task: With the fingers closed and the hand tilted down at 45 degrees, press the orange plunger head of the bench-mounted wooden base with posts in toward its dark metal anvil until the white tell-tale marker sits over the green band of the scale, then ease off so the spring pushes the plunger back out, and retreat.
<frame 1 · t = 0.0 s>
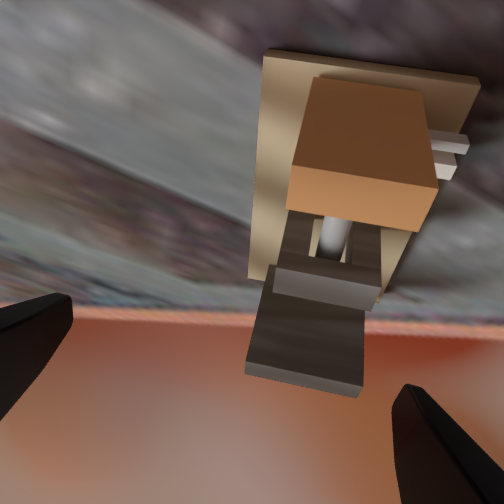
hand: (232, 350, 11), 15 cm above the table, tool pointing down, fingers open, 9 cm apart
tell-tale marker: (432, 162, 20), point 2 cm above the table, slide at 0.0 cm
plunger: (368, 212, 19), point 5 cm above the table, slide at 0.0 cm
wooden base with posts: (356, 111, 21), on the table
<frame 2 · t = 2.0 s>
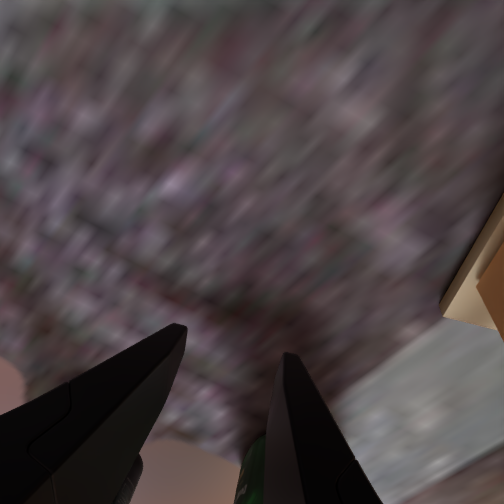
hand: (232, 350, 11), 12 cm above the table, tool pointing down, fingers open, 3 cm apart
supplement bottle: (110, 450, 37), on the table
coffee jar: (288, 462, 34), on the table
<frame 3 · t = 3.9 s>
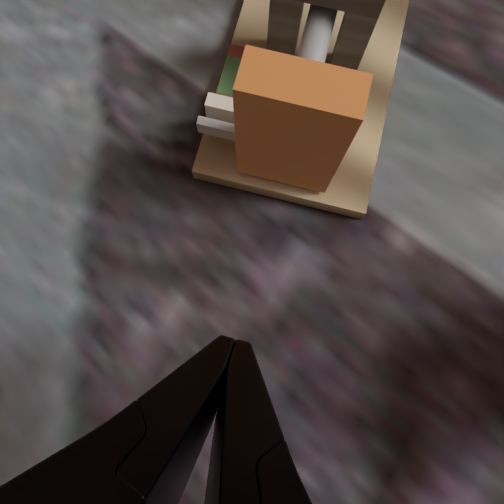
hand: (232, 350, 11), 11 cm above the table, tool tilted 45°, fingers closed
tell-tale marker: (223, 109, 22), point 2 cm above the table, slide at 0.0 cm
plunger: (282, 62, 20), point 5 cm above the table, slide at 0.0 cm
wooden base with posts: (286, 159, 24), on the table
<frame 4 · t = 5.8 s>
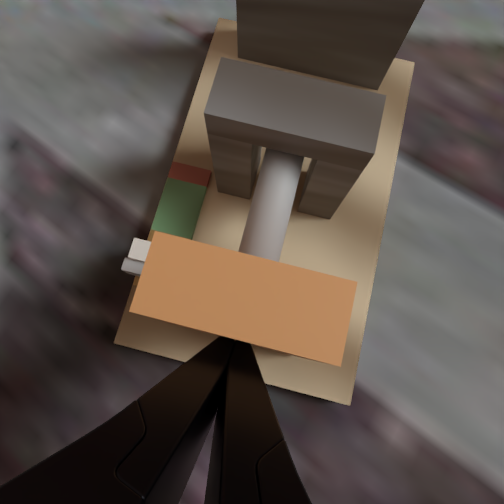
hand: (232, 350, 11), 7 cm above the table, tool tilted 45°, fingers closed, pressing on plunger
tell-tale marker: (157, 256, 16), point 2 cm above the table, slide at 0.4 cm, touching plunger
plunger: (233, 201, 14), point 5 cm above the table, slide at 0.9 cm, touching gripper, tell-tale marker
wooden base with posts: (245, 315, 18), on the table
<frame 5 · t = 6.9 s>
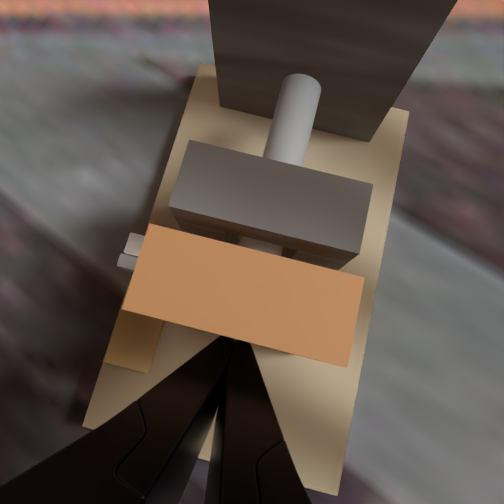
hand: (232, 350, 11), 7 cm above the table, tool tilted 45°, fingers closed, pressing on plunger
tell-tale marker: (154, 252, 16), point 2 cm above the table, slide at 3.6 cm
plunger: (233, 194, 13), point 5 cm above the table, slide at 4.1 cm, touching gripper
wooden base with posts: (226, 390, 17), on the table
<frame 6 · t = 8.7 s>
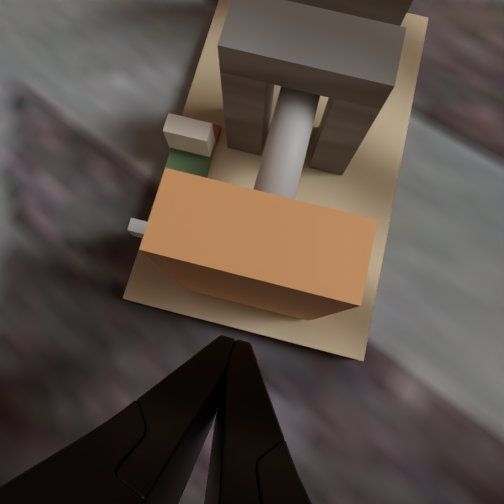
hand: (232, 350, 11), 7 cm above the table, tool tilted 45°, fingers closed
tell-tale marker: (189, 135, 17), point 2 cm above the table, slide at 3.6 cm
plunger: (243, 154, 13), point 5 cm above the table, slide at 0.5 cm
wooden base with posts: (256, 273, 18), on the table
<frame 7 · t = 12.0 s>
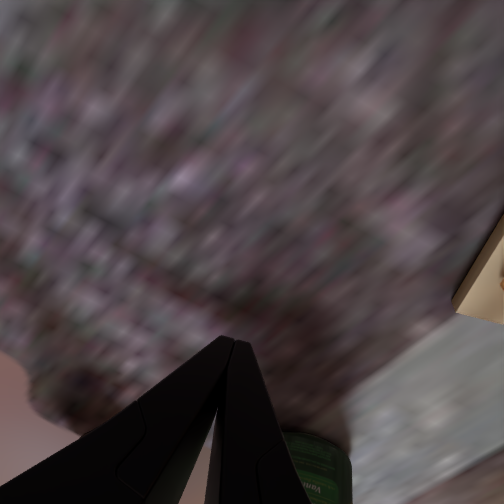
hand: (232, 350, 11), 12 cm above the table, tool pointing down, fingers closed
coffee jar: (295, 460, 33), on the table
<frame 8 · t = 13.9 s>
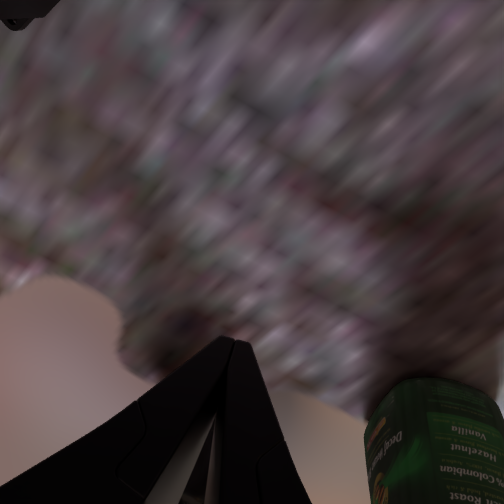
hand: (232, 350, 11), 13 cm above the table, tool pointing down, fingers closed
supplement bottle: (208, 407, 33), on the table
coffee jar: (422, 414, 30), on the table
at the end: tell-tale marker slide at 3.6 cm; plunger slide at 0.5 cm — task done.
